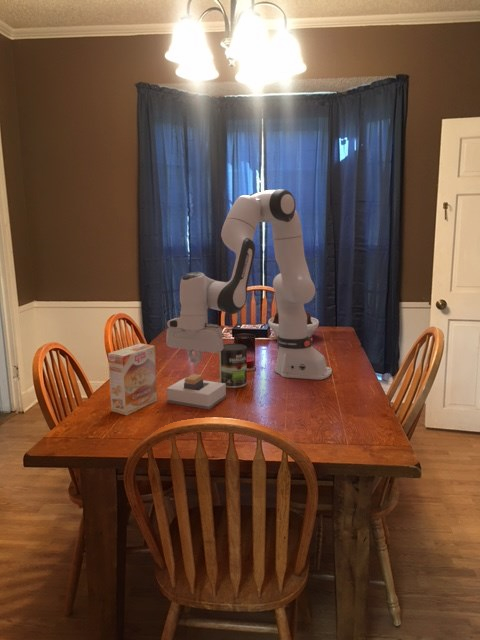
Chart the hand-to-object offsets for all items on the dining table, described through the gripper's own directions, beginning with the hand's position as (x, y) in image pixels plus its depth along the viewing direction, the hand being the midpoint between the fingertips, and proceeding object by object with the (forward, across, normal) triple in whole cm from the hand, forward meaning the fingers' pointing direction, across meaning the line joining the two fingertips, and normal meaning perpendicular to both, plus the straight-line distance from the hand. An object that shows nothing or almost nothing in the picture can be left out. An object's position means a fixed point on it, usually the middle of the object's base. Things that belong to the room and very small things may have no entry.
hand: (195, 362), depth 169 cm
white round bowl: (+13, -2, -92) cm, 93 cm away
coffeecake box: (+14, +16, +13) cm, 24 cm away
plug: (+12, +1, 0) cm, 12 cm away
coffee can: (+13, -4, -20) cm, 25 cm away
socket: (+13, 0, 0) cm, 13 cm away
